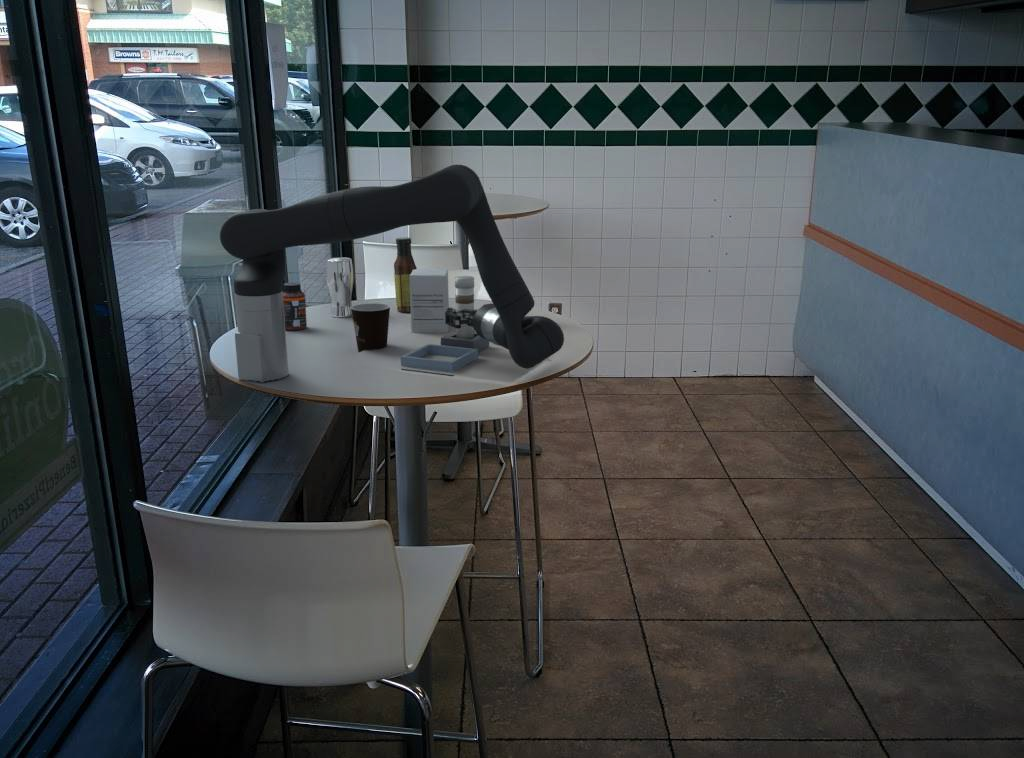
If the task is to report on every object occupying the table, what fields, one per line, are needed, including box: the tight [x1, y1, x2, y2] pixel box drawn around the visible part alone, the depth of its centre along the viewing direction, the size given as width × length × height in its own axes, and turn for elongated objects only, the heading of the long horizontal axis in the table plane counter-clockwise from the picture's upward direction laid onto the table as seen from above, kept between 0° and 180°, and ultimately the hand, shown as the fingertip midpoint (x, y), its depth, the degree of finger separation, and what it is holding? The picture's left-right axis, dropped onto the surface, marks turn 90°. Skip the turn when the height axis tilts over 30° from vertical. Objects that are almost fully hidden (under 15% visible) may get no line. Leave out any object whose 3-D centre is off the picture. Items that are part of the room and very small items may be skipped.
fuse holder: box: [440, 330, 490, 353], centre depth 198 cm, size 8×10×4 cm
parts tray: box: [400, 343, 479, 377], centre depth 188 cm, size 12×12×3 cm
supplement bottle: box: [283, 282, 308, 331], centre depth 221 cm, size 6×6×11 cm
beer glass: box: [325, 256, 354, 318], centre depth 236 cm, size 7×7×15 cm
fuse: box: [454, 275, 475, 339], centre depth 196 cm, size 4×4×16 cm
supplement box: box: [410, 268, 450, 334], centre depth 217 cm, size 9×9×15 cm
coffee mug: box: [351, 302, 391, 353], centre depth 201 cm, size 12×9×10 cm
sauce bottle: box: [393, 236, 418, 313], centre depth 240 cm, size 7×6×20 cm
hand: (466, 310), depth 195 cm, fingers open, 8 cm apart
